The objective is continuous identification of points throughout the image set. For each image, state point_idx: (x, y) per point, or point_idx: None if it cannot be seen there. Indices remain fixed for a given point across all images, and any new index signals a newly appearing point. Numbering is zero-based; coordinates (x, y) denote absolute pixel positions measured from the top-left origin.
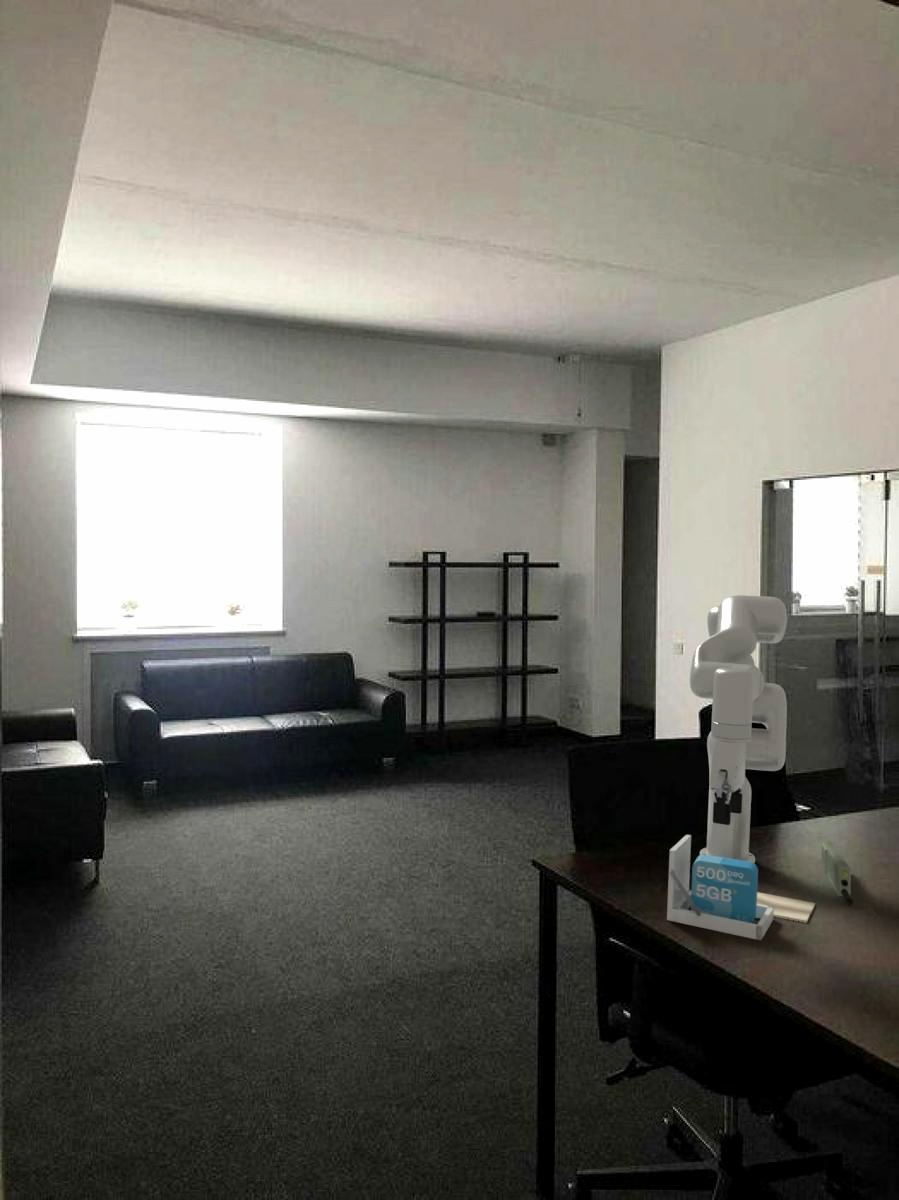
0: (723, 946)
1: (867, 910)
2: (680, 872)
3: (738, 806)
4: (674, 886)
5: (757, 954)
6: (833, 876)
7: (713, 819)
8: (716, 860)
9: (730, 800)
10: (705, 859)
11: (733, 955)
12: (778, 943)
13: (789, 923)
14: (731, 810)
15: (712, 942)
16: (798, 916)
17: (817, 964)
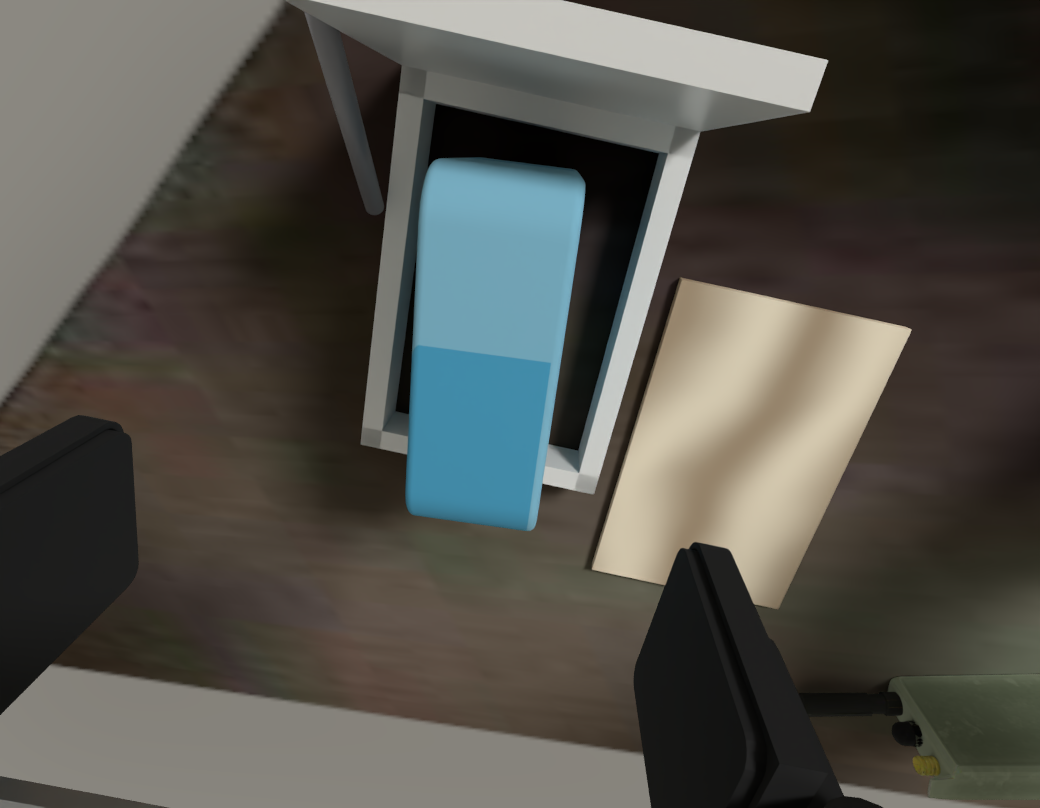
0: (259, 300)
1: None
2: (512, 73)
3: (650, 725)
4: (396, 53)
5: (252, 408)
6: (1025, 704)
7: (61, 431)
8: (466, 324)
9: (693, 705)
10: (459, 251)
11: (201, 334)
12: (377, 473)
13: (572, 516)
14: (664, 614)
15: (274, 260)
16: (624, 550)
17: (272, 561)
